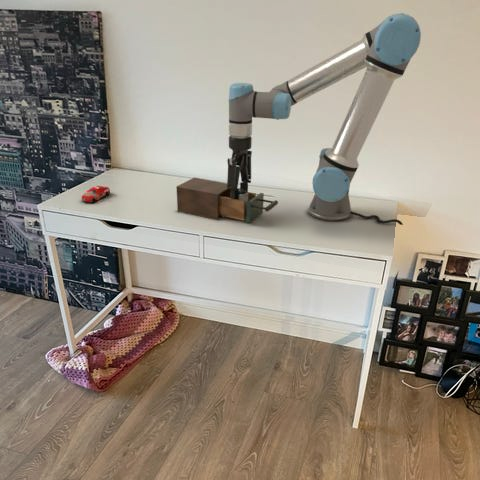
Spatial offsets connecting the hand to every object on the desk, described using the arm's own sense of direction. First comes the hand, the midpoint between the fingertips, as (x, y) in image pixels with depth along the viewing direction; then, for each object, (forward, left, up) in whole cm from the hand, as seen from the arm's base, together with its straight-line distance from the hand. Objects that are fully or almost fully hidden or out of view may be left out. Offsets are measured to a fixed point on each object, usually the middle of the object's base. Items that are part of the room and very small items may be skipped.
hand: (239, 204), depth 171 cm
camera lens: (0, 0, -3) cm, 3 cm away
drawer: (-2, 0, -4) cm, 5 cm away
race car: (+57, +10, -5) cm, 58 cm away
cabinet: (+14, 0, -5) cm, 15 cm away
